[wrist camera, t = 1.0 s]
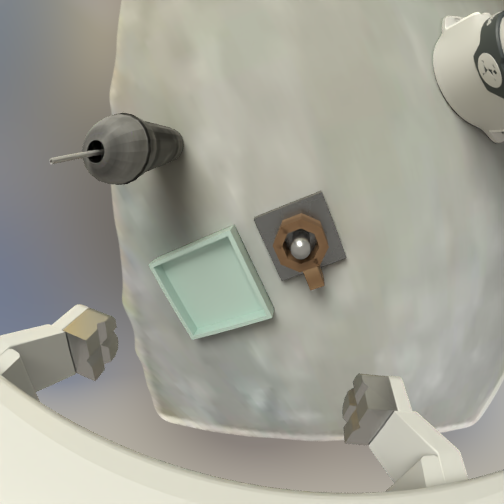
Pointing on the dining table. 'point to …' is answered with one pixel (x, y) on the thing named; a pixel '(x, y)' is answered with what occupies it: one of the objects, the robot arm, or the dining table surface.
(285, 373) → the dining table surface
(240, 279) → the tray
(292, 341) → the dining table surface
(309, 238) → the stake
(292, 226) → the ring
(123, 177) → the beverage cup
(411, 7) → the dining table surface
